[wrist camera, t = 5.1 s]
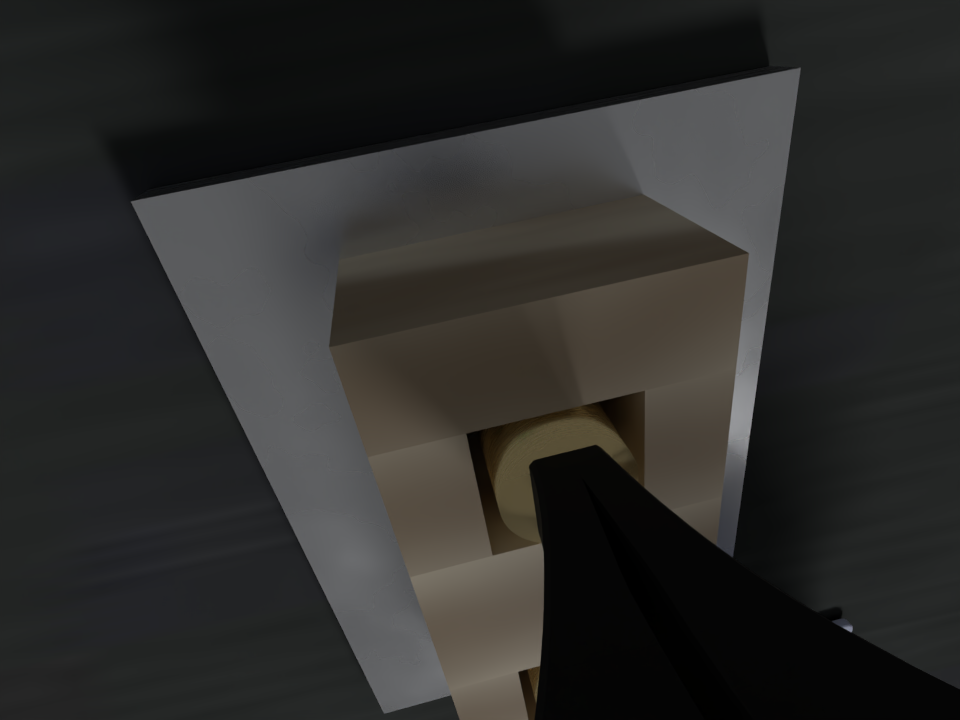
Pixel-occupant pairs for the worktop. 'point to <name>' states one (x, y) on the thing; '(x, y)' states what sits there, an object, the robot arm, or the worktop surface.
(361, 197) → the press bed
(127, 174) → the worktop surface
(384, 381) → the housing
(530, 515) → the pin
